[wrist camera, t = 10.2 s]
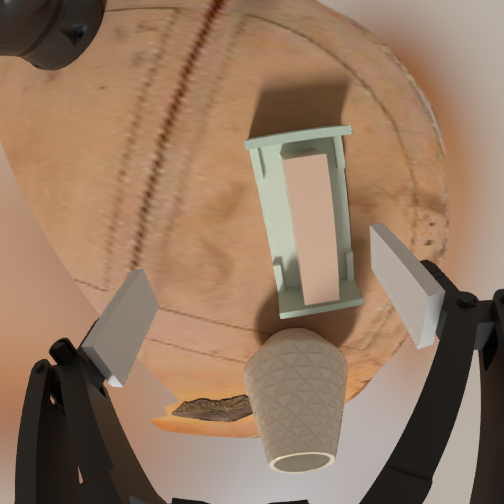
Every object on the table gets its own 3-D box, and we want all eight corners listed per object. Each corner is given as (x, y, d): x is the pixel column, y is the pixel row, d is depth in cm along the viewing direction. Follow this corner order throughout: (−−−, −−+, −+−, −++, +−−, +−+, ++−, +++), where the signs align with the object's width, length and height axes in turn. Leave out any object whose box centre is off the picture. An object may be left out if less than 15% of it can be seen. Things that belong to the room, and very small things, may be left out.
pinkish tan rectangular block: (279, 153, 34) (283, 159, 27) (314, 148, 33) (326, 153, 27) (299, 277, 41) (304, 305, 35) (329, 272, 40) (339, 299, 34)
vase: (355, 351, 49) (384, 455, 28) (282, 388, 54) (284, 486, 33) (308, 294, 44) (332, 421, 23) (226, 343, 49) (207, 457, 28)
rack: (248, 138, 34) (243, 141, 28) (334, 125, 33) (350, 125, 26) (278, 290, 43) (280, 319, 37) (350, 277, 42) (363, 304, 36)
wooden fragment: (260, 391, 55) (260, 395, 54) (272, 415, 60) (272, 418, 59) (159, 398, 60) (158, 402, 59) (179, 421, 64) (178, 424, 63)
